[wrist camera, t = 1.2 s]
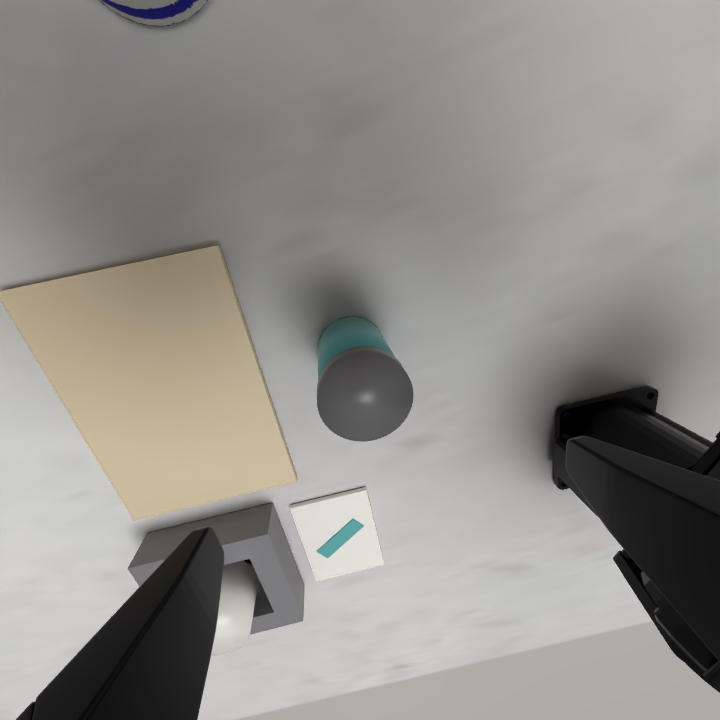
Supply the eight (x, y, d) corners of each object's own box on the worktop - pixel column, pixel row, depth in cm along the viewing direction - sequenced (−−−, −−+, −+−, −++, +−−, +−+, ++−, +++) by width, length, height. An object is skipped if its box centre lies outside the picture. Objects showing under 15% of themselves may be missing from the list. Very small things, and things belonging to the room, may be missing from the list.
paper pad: (219, 244, 16) (216, 245, 16) (297, 477, 21) (296, 481, 21) (3, 290, 16) (-5, 292, 15) (137, 515, 21) (133, 520, 20)
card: (365, 486, 22) (366, 491, 22) (383, 560, 25) (384, 565, 24) (290, 505, 22) (289, 509, 21) (316, 577, 24) (316, 582, 24)
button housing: (272, 502, 22) (267, 534, 19) (304, 585, 25) (303, 620, 22) (147, 533, 21) (127, 568, 19) (195, 612, 24) (182, 651, 22)
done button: (247, 551, 21) (236, 600, 18) (266, 593, 22) (259, 645, 20) (183, 567, 21) (162, 619, 18) (206, 608, 22) (190, 662, 20)
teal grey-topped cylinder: (378, 308, 18) (406, 344, 12) (389, 371, 19) (418, 429, 14) (309, 324, 18) (306, 367, 12) (325, 386, 19) (329, 450, 14)
